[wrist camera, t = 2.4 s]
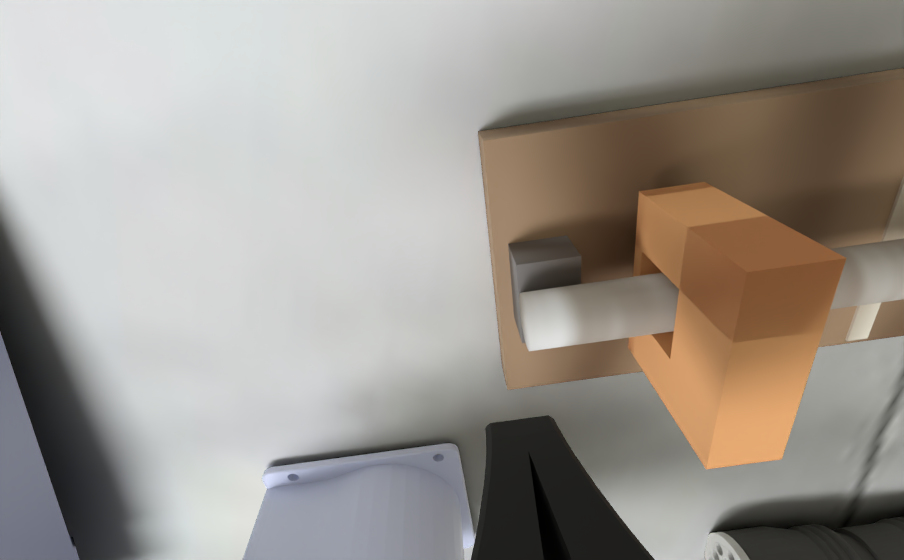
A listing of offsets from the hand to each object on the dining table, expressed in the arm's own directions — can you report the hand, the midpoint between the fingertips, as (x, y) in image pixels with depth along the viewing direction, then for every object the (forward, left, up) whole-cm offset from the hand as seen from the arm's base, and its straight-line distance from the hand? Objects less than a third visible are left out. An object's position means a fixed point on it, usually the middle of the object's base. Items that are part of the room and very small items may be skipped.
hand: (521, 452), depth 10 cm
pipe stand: (+10, 0, -9) cm, 14 cm away
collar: (+6, 0, -7) cm, 9 cm away
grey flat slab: (-30, -2, -9) cm, 32 cm away
